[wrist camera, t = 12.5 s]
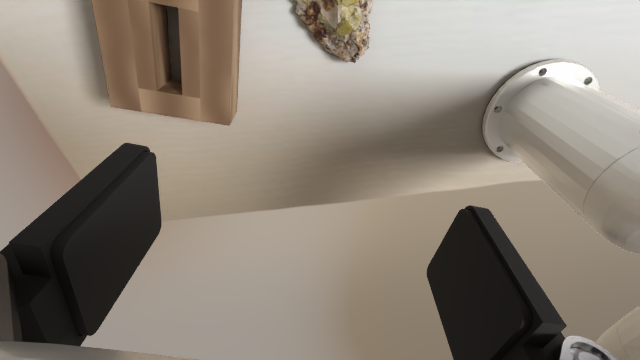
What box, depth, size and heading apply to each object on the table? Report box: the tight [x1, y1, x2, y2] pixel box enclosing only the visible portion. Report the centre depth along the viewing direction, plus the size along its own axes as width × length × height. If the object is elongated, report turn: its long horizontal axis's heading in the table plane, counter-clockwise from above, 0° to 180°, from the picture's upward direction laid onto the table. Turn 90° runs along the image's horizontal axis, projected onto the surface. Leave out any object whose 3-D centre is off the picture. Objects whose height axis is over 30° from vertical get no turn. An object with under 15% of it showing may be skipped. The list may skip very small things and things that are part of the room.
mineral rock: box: [295, 0, 373, 63], centre depth 32 cm, size 11×4×8 cm
